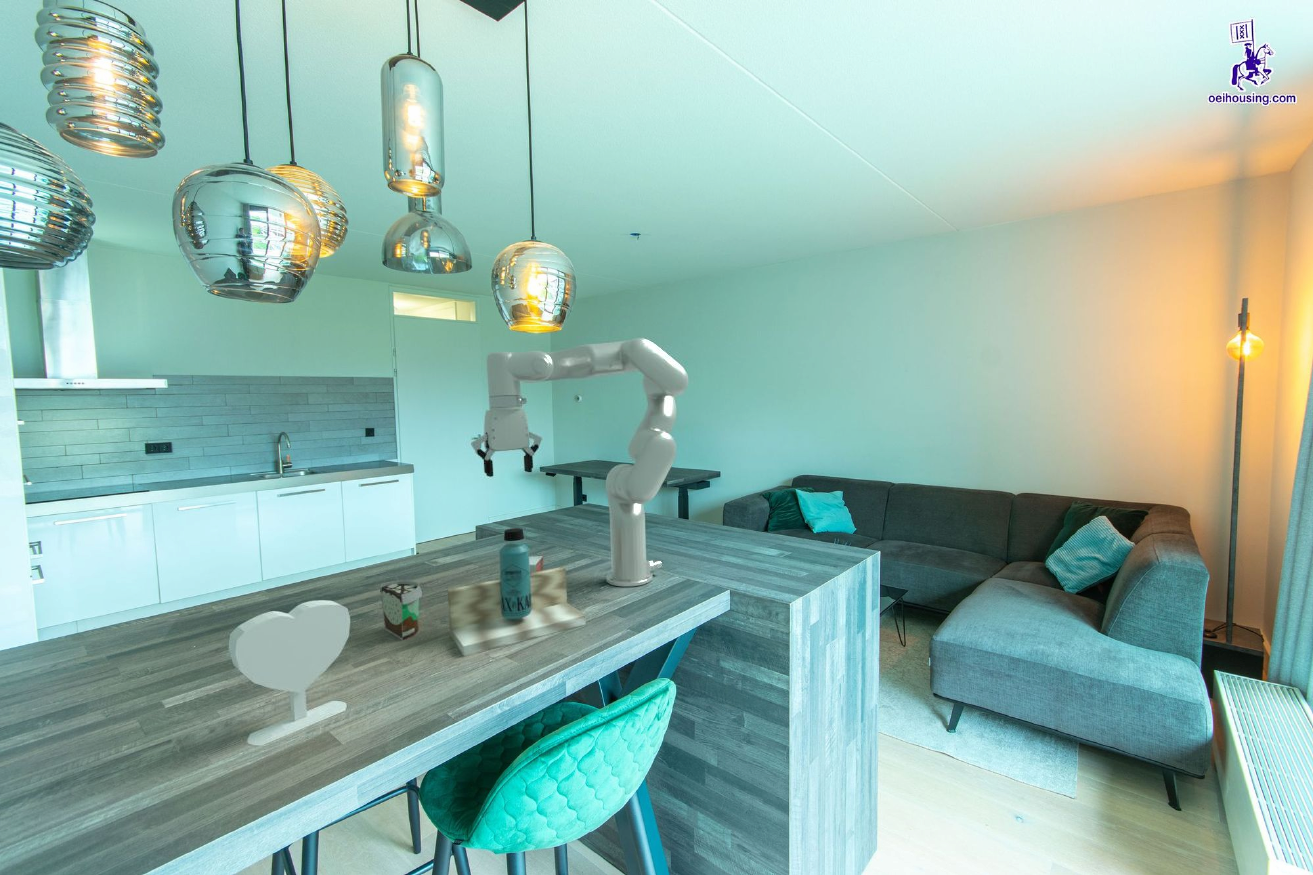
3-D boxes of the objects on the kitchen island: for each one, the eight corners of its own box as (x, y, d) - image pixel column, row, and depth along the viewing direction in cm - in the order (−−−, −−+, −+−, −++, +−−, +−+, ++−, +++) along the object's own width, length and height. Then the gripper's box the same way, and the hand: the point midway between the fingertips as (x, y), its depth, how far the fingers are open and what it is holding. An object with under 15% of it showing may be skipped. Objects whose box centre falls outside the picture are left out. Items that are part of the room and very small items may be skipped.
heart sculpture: (345, 695, 95) (338, 592, 94) (358, 705, 92) (350, 598, 91) (234, 739, 83) (224, 622, 82) (244, 752, 80) (234, 630, 79)
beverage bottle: (499, 617, 123) (495, 527, 121) (529, 612, 125) (526, 524, 124) (503, 628, 117) (499, 534, 115) (535, 622, 119) (531, 530, 118)
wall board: (564, 608, 133) (562, 566, 132) (585, 624, 123) (583, 579, 122) (450, 635, 119) (447, 589, 118) (463, 656, 109) (461, 606, 108)
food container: (434, 632, 121) (431, 587, 120) (405, 642, 116) (402, 595, 116) (409, 618, 129) (407, 576, 129) (382, 627, 125) (379, 583, 124)
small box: (538, 608, 134) (536, 564, 133) (514, 608, 134) (512, 565, 133) (545, 596, 142) (543, 555, 141) (523, 596, 142) (521, 556, 141)
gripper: (533, 402, 143) (536, 469, 144) (464, 405, 133) (469, 476, 135) (544, 402, 137) (548, 471, 138) (474, 405, 127) (478, 479, 128)
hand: (509, 473), depth 136 cm, fingers open, 9 cm apart
